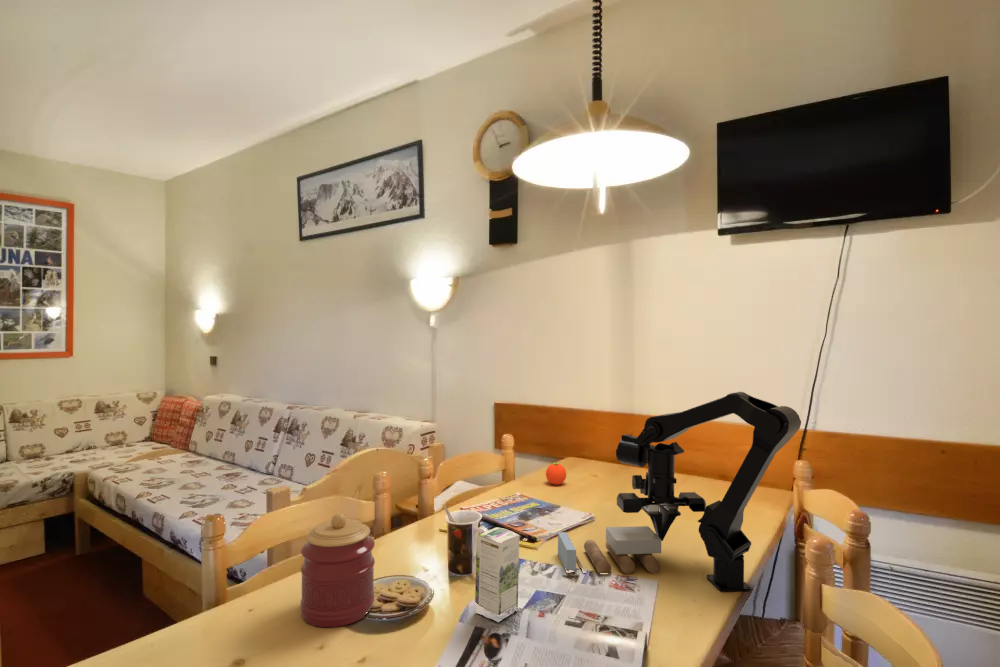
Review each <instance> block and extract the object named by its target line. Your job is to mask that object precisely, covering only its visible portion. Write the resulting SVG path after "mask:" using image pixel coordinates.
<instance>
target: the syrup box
mask: <svg viewBox="0 0 1000 667" xmlns="http://www.w3.org/2000/svg"><path fill="white" fill-rule="evenodd" d="M475 540H476V542H475V543H476V544H475V545H476V546H475V547H476V548H475V586H474V587H475V590H474V591H475V592H474V595H475V597H474V603H475V602H476V603H477V604H478V605H479V606H481V607H483V608H484V609H486V610H487V611H489V612H491V613H493V614H496V615H500V614H501V613H503V612H504V611H506V610H507V609H509V608H511V607H518V608H519V576H520V575H519V574H520V573H519V570H520V569H519V568H520V535H519V534H518V533H515V532H514V531H512V530H509V529H507V528H502V527H498V526H497V527H494V528H492V529H489V530H487V531H484V532H482V533H480V534H478V535H476V539H475Z"/></svg>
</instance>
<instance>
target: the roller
mask: <svg viewBox="0 0 1000 667" xmlns="http://www.w3.org/2000/svg"><path fill="white" fill-rule="evenodd" d="M583 548H584V551H585V552H586V554H587V556H588V557H589V559H590V561H591V563H592V565H593V566H594V568H595V569H596V572H597V573H598V574H599V573H609V574H611V573H610V571H611V572H612V566H611V564H610V563H609V561H608V559H607V558H606V556H605V554H604V553H603V551H602V550H601V549H600V547H599V546H598V543H597V542H596V541H595V540H594V539H593V540H592V539H587V540H586V541H585V542H584V544H583Z"/></svg>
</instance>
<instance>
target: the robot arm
mask: <svg viewBox="0 0 1000 667" xmlns="http://www.w3.org/2000/svg"><path fill="white" fill-rule="evenodd" d="M733 414H734V415H736V416H737V417H739V418H740V419H742V420H743V421H744V422H746V424H749V425H750V426H753V427H754V428H753V431H752V442H751V443H752V444H751V447H750V449H749V450H748V452H747V453H746V456H745V458H744V459H743V461H742V462H741V463H742V464H741V465H740V466H739V469H738V470H737V472H736V473H735V476H734V478H733V479H732V482H731V483H730V485H729V487H728V489H726V490H727V491H726V492H725V495H724V496H723V498H722V500H720V499H719V500H716V501H715V502H712V503H710V504H708V505H707V502H706V500H705V498H704V497H702V496H701V495H699V494H698V493H696V491H692V492H691V491H689V492H683V491H682V492H679V493H678V496H675V484H677V478H676V477H675V460H676V456H677V455H681V454H684V453H685V449H683V447H682V446H680V445H679V443H678V442H677V441H674V442H671V443H664V442H665V441H670V440H673V439H676V438H677V437H678V436H681V435H682V434H684V433H686V432H687V431H688V430H690V429H692V428H694V427H697V426H698V425H702V424H706V423H709V422H711V421H715V420H717V419H722V418H724V417H727V416H730V415H733ZM801 425H802V421H801V418H800V415H799V414H798V412H797V411H796V410H795V409H793V408H792V407H790V406H787V405H780V406H778V405H776V404H773V403H772V402H769V401H766V400H763V399H761V398H757V397H754V396H752V395H750V394H748V393H746V392H744V391H737V392H731V393H728V394H726V395H724V396H722V397H720V398H719V397H718V398H716V399H714V400H711V401H708V402H706V403H703V404H700V405H697V406H695V407H691V408H690V409H689V408H688V409H687V410H686V409H685V410H684V411H678V412H671V413H665V414H660V415H659V414H658V415H654V416H649V417H648V418H646V420H645V422H644V425H643V426H644V428H643V430H641V432H640V433H639V435H638V436H635V435H632V434H629V433H626V434H622V435H621V439H620V441H619V442H618V445H617V447H616V449H615V456H616V459H617V461H618V462H619V463H621V464H626V465H630V466H635V467H640V468H644V467H645V466H646V465H647V471H646V472H645V473H646V474H645V478H643V476H642V475H641V474H636V475H634V474H633V475H632V476H631V478H632V479H631V486H632V489H633V490H639V493H640V494H641V495H642V494H643V495H644V496H645V497H639V496H638V495H637V494H636V493H635V492H619V493H618V494H617V496H616V506H618V508H619V509H620V511H622V513H625V514H639V513H640V512H641V510H642V511H643V512H644V513H645V514H646V515H648V517H650V520H651V524H652V526H653V529H654V532H655V534H656V535H657V536H658V537H659V538H660V539H661V542H662V541H664V539H665V537H666V535H667V533H668V532H669V530H670V528H671V526H672V524H673V523H674V521H675V520H676V518H677V517H679V516H680V517H681V515H682V512H680V511H679V507H688V508H689V509H690V510H691V511H692V512H693V513H699V512H700V513H701V512H702V513H703V514H702V516H701V518H700V519H698V520H697V522H698V523H699V526H698V533H699V535H700V538H701V540H702V541H703V543H704V547H705V549H706V553H707V556H708V557H711V558H713V560H712V561H713V562H712V564H713V568H712V570H713V573H712V574H706V579H707V580H708V581H710V582H711V584H712V585H714V587H716V589H717V590H719V592H745V591H752V586H750V585H749V584H748V583H747V582H745V559H744V558H745V556H744V554H746V553H748V552H749V551H750V548H751V546H752V542H751V540H749V538H748V537H747V536H746V534H745V533H744V532H743V530H742V526H743V522H744V512H745V508H746V507H747V505H748V503H749V502H750V500H751V498H752V496H753V494H754V493H755V491H756V489H757V487H758V486H759V483H760V482H761V480H762V479H763V477H764V475H765V474H766V471H767V470H768V468H769V466H770V465H771V462H772V461H773V459H774V457H775V456H776V454H777V453H778V452H779V451H780V450H781V449H782V448H783V447H785V446H786V445H787V443H789V441H790V440H791V439H792V438H793V437H794V436H795V435H796V434H797V432H799V430H800V428H801ZM662 442H663V443H662ZM653 443H657V444H656V445H653ZM646 496H647V497H646Z"/></svg>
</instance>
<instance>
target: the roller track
mask: <svg viewBox="0 0 1000 667" xmlns="http://www.w3.org/2000/svg"><path fill="white" fill-rule="evenodd" d="M605 549H607V551H608V553H609V554H610V555H611V557H612V558H613V560H614V561H615V563H616V564H617V565H618V567H619V568H620V570H621V571H622V572H623V574H627V575H629V574H632V573H633V572H634V571H635V568H636V564H635V562H634V561H633V559H631V557H630V556H629V554H616V553H615V552H614V551H613V549H612V548H611V546H610V545H609V544H608V542H607V541H606V540H605ZM634 555H635V557H636V558H637V559H638V560H639V561H640V562H641V564H642V565H643V567H644V569H646V570H647V571H648V573H650V574H655V573H658V571H660V569H661V568H660V567H661V563H660V561H659V560H658V559H657V558H656V557H655V555H654V554H634ZM577 563H578V564H577ZM576 564H577V565H578V567H579V569H580V568H583V569H584V567H583V564H582V563H581V561H580V560H579V558H578V556H577V554H576ZM609 574H612V570H611V571H610V573H609Z"/></svg>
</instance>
